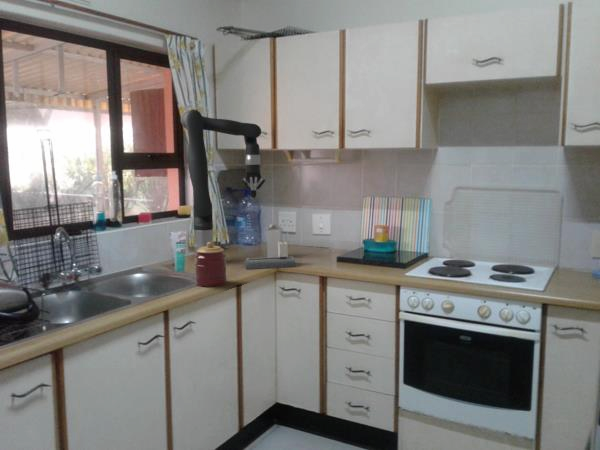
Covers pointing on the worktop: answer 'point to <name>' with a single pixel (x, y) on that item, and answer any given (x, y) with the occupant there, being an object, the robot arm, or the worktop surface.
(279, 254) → the fader tab
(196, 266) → the canister
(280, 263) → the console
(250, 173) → the robot arm
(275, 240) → the milk carton
